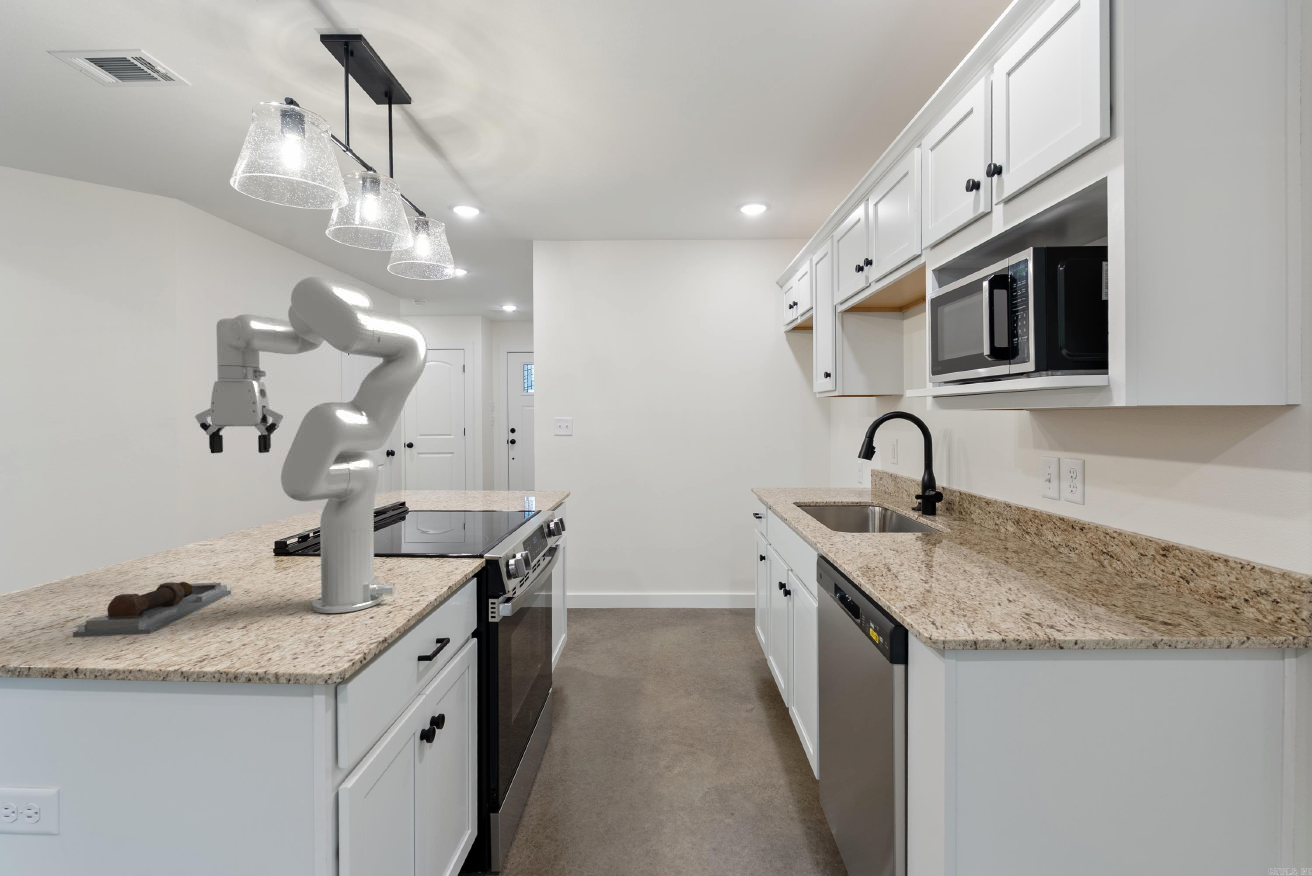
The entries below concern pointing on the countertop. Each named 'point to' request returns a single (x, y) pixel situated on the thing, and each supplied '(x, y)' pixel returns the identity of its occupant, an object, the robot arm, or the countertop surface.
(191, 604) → the grey stepped tray
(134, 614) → the bolt
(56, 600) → the countertop surface
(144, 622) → the grey shallow tray
